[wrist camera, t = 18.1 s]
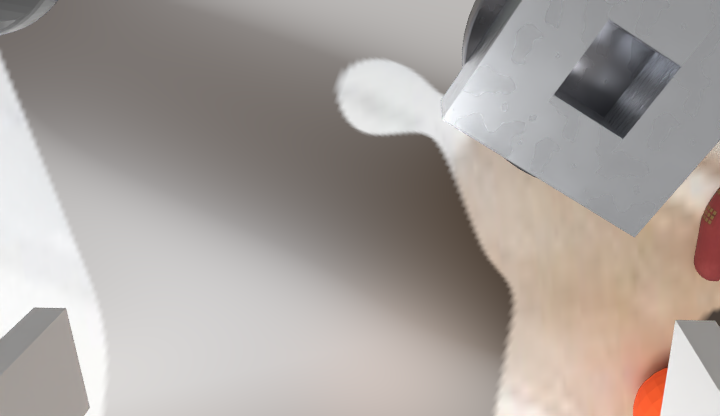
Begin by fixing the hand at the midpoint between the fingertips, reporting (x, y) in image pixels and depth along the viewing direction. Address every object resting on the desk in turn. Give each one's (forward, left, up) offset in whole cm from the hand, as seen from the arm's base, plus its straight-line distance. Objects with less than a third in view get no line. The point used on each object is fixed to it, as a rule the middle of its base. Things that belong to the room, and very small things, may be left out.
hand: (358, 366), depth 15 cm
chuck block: (+8, +7, -29) cm, 31 cm away
